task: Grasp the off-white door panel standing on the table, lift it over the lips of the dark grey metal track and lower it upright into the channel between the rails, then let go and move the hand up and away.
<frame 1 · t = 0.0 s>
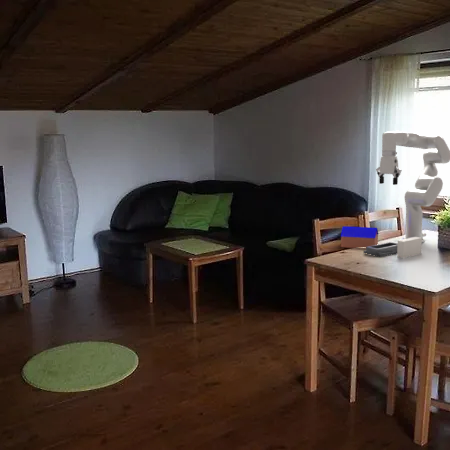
hand: (388, 184, 313), 37 cm above the table, fingers open, 9 cm apart
door track: (384, 252, 304), on the table
door panel: (409, 255, 296), on the table
blue shipping container: (359, 246, 323), on the table
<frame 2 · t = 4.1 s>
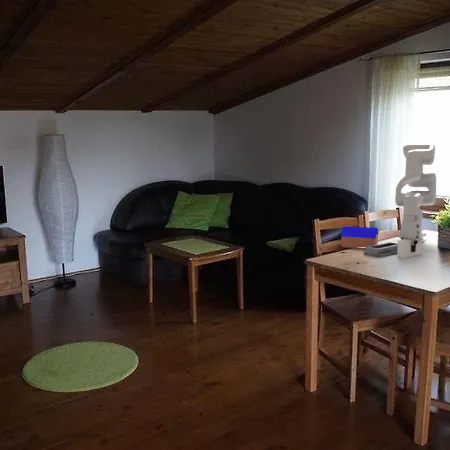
hand: (409, 250, 296), 2 cm above the table, fingers closed on door panel, 4 cm apart
door panel: (409, 255, 296), on the table, touching gripper
everything else where it was.
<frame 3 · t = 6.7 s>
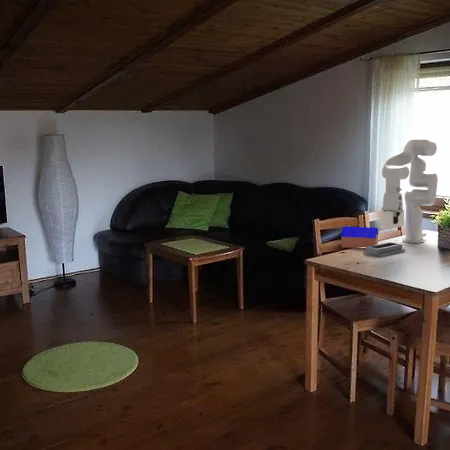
hand: (392, 222, 299), 17 cm above the table, fingers closed on door panel, 4 cm apart
door panel: (392, 227, 300), point 15 cm above the table, touching gripper
everything else where it was.
when the fingers open (5 cm above the table, at t = 9.6 s): door panel drops 1 cm, resting on door track.
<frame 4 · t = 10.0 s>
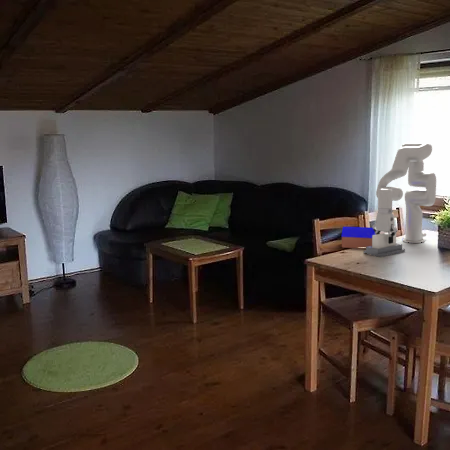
hand: (384, 242, 303), 6 cm above the table, fingers open, 8 cm apart
door panel: (384, 249, 304), point 1 cm above the table, touching door track
everything else where it was.
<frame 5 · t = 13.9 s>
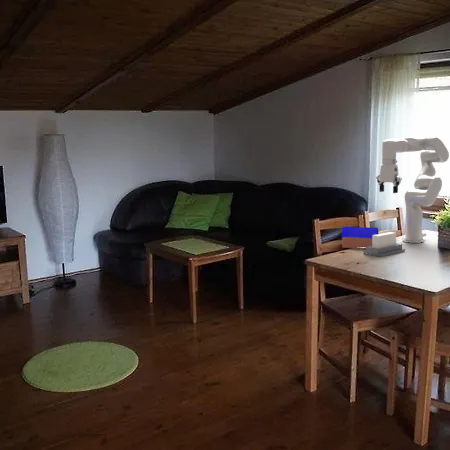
hand: (388, 192, 311), 32 cm above the table, fingers open, 9 cm apart
nothing on the table moved.
at the end: door panel 0.1 cm off-centre on the door track, point 1.5 cm above the door track's base; door panel tilted 0°; the gripper is holding nothing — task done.
